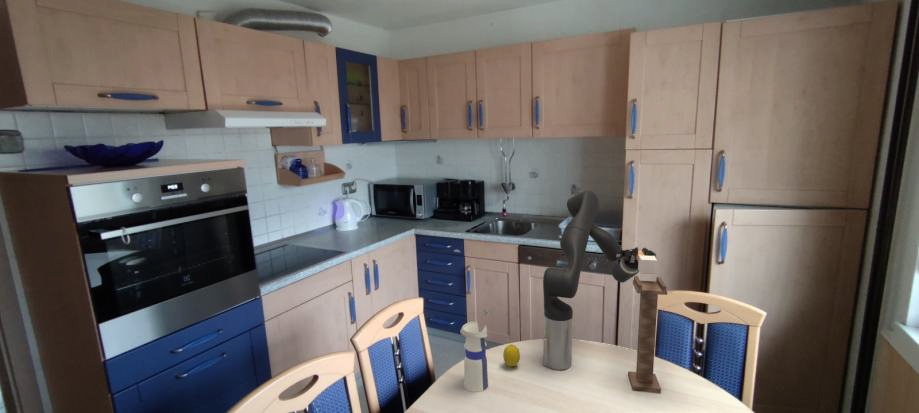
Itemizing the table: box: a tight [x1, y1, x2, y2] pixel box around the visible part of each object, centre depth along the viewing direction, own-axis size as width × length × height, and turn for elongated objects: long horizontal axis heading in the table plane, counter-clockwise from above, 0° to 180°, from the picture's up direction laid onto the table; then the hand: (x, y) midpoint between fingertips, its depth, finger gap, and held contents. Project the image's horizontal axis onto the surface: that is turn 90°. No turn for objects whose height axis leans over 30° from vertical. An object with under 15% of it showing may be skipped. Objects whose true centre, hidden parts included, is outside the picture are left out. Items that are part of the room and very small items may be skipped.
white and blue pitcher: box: [460, 306, 490, 393], centre depth 131 cm, size 8×9×25 cm
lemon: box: [502, 343, 521, 368], centre depth 142 cm, size 6×6×8 cm
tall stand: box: [627, 275, 668, 394], centre depth 128 cm, size 8×8×33 cm
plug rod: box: [635, 251, 658, 275], centre depth 134 cm, size 4×16×4 cm, turn 167°
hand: (641, 250), depth 138 cm, fingers closed on plug rod, 2 cm apart
